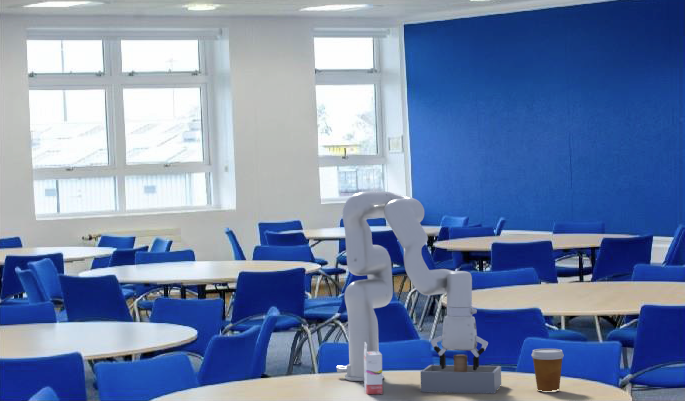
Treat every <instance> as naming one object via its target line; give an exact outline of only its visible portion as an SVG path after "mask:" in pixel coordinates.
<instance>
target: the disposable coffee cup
mask: <svg viewBox="0 0 685 401" xmlns="http://www.w3.org/2000/svg"><path fill="white" fill-rule="evenodd" d="M530 356H531V357H532V360H533V368H534V375H535V382H536V388H537V389H538V390H542V391H552V390H557V389H559V390H560V386H561V385H560V384H561V376H562V366H563V365H562V363H563V358H564V356H565V354H564V352H563V350H562V349H561V348H560V349H558V348H536V349H532V353H531V355H530ZM538 390H537V391H538Z"/></svg>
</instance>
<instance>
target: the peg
mask: <svg viewBox="0 0 685 401" xmlns="http://www.w3.org/2000/svg"><path fill="white" fill-rule="evenodd" d="M453 365H454V372H467V366H468V355H467V354H454V355H453Z"/></svg>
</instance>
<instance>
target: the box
mask: <svg viewBox="0 0 685 401" xmlns="http://www.w3.org/2000/svg"><path fill="white" fill-rule="evenodd" d="M500 385H501V386H502V366H501V365H479V367H477V370H473V365H467V372H454V364H450V365H449V364H447V365H446V367H445V368H444V369H442V368H441V366H440V364H428V366H426V367H425V368H424V369H422V370H420V393H452V392H453V393H455V394H457V393H458V394H461V393H464V394H496V392H497V391H498V390H499V389H500V388H501V387H500ZM499 387H500V388H499ZM498 388H499V389H498ZM497 389H498V390H497ZM496 390H497V391H496Z"/></svg>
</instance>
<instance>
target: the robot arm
mask: <svg viewBox="0 0 685 401" xmlns="http://www.w3.org/2000/svg"><path fill="white" fill-rule="evenodd" d="M342 208H343V209H342V222H343V223H342V224H343V227H344V234H345V236H344V237H345V251H346V253H345V255H346V265H347V266H346V267H347V269H348V271H349V273H350V274H352V275H354V276H357V277H358V276H362V277H363V276H367V278H366V279H365V278H364V279H358V280H354V281H352V282H351V283H350V284H349V285H347V287H346V288H345V291H344V303H345V306H346V312H347V324H348V326H347V327H348V328H347V329H348V359H349V360H348V361H349V363H348V364H347V365H337V366H336V372H338V373H346V374H345V375H344V380H346V381H350V382H351V381H352V382H364V343H366V344H367V352H373V351H379V347H380V346H379V324H378V323H379V322H378V317H377V315H376V312H375V309H380V308H383V307H386V306H387V305H389V304H390V302H391V301H392V298H393V294H394V286H393V284H394V283H393V271H392V270H393V268H392V260H391V256H390V254H389V251H388V250H387V249H386V248H385V247H384V246H382V245H379V244H373V239H372V238H373V236H372V234H373V233H372V230H371V227H370V225H369V223H368V221H367V220H368V219H380V218H382V219H386V221H387V224H389V226H390V229H391V230H392V232H393V233H394V236H395V237H396V239H397V240H398V243H400V245H401V248H402V249H403V264H404V269H405V272H406V275H407V276H408V278H409V280H410V281H411V284H412V285H413V287H414V288H415V290H417V292H418V293H420V294H422V295H424V296H435V295H443V294H446V315H445V316H444V319H443V325H442V335H441V334H440V336H437V337H435V338H433V339H431V340H430V344H431V346H432V348H433V350H434V351H435V352H436V354H437V355H438V356H439V365H440V366H441V368H442V369H444V368H445V367H446V363H447V360H446V357H447V356H446V354H445V352H447V351H470V352H471V353H472V354H473V355H474V356H473V358H472V366H473V370H477V367H479V366H480V356H481V355H482V354H483V353H485V352H484V351H486V349H487V347H488V344H489V342H488V341H486V340H485V339H483V338H481V337H480V336H478V333H477V323H476V319H475V316H473V315H474V314H477V311H478V310H477V309H476V308H474V307H473V302H472V301H473V279H472V274H471V272H469V271H465V270H451V269H447V268H437V269H436V268H435V269H429V268H428V266H427V264H426V262H425V260H424V257H423V255H422V248H423V247H424V246H425V245H426V244H427V242H428V240H429V237H428V234H427V233H426V231H425V229H424V227H423V226H422V224H421V222H422V221H423V219H424V217H425V208H424V206H423V204H422V203H421V201H419V200H418V199H416V198H413V197H409V196H407V195H402V194H398V193H394V192H390V191H381V190H380V191H361V192H356V193H354V194H353V195H351V196H350V197H349V198H348V199H347V200H346V201H345V203H344V205H343V207H342ZM438 342H441V347H442V348H441V347H440V346H438ZM478 343H479V344H481V347H480V349H477V346H478ZM365 349H366V348H365ZM379 352H380V351H379ZM384 378H385V374H384V373H382V380H384Z"/></svg>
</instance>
